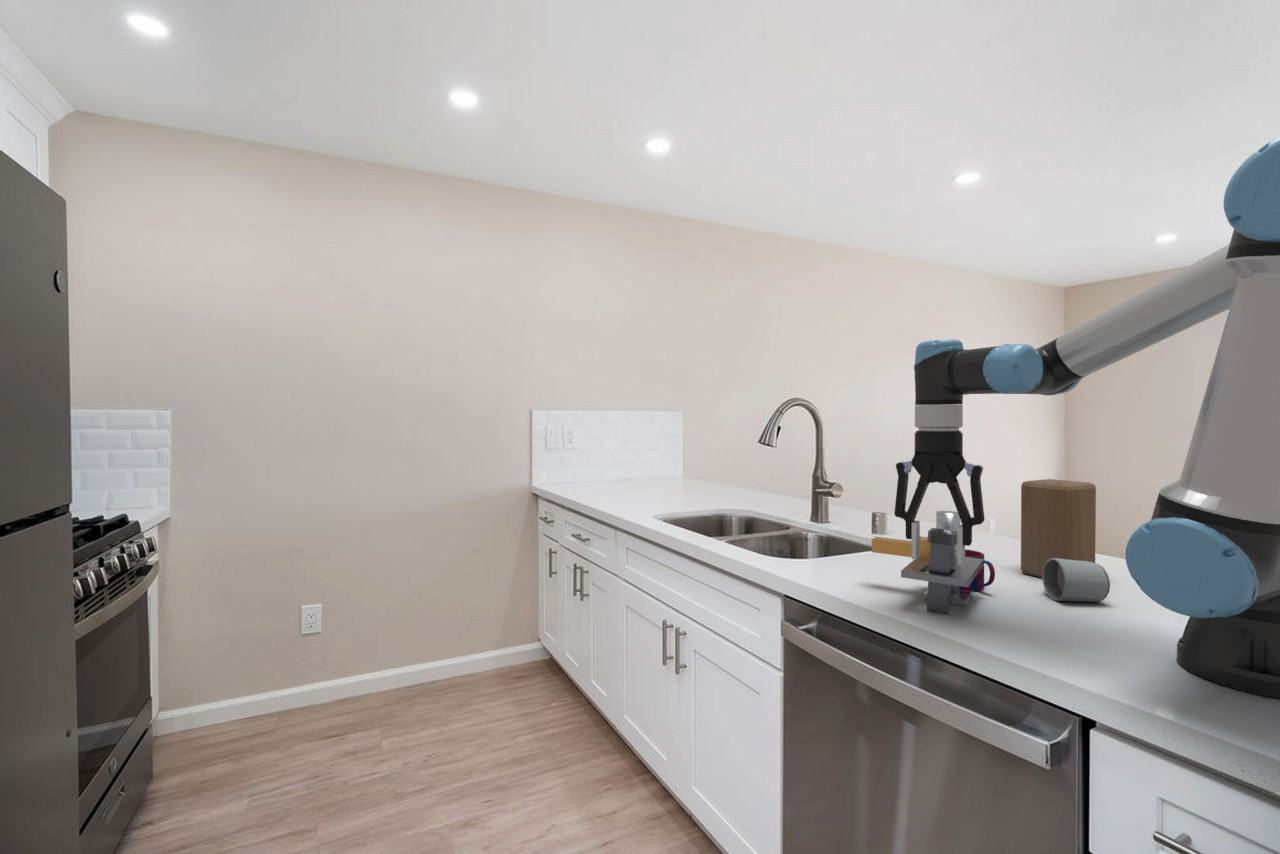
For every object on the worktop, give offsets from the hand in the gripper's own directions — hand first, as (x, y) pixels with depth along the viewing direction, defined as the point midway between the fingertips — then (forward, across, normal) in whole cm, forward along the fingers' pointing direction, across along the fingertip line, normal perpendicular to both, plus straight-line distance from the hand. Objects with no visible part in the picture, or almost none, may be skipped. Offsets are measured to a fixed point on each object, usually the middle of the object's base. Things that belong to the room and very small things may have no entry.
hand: (937, 560), depth 105 cm
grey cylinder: (+9, -18, -22) cm, 30 cm away
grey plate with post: (+9, +4, -5) cm, 11 cm away
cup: (+9, -2, -18) cm, 20 cm away
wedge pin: (+9, 0, 0) cm, 9 cm away
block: (+9, -16, -38) cm, 43 cm away
